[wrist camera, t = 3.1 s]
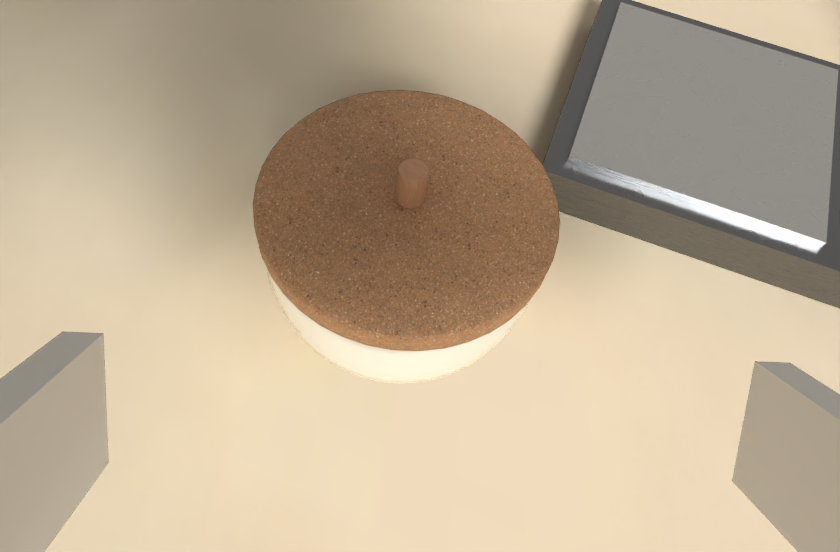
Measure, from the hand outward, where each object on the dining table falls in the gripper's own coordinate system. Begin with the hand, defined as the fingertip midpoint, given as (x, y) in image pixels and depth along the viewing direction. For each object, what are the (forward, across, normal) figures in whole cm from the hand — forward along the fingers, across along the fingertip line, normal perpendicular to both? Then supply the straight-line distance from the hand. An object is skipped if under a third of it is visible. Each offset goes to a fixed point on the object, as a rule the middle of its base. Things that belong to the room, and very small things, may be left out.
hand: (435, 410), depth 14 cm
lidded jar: (+17, 0, -3) cm, 17 cm away
